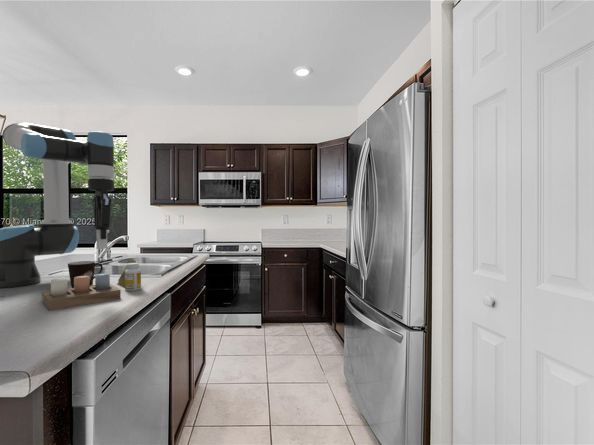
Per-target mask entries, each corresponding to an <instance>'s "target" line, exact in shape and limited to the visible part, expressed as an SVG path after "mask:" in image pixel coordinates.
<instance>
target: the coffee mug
mask: <svg viewBox="0 0 594 445" xmlns="http://www.w3.org/2000/svg"><path fill="white" fill-rule="evenodd" d="M96 266H100V269H99V271H98V273H97V274H102V271H103V268H104V267H103V265H102V264H101V263H96V261H95V260H81V261H78V260H77V261H72V262H68V263H67V268H68V275H69V281H70V288H74V277H78V276H89V286H90V285H94V279H95V270H96V269H95V268H96Z"/></svg>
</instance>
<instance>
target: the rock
mask: <svg viewBox="0 0 594 445" xmlns="http://www.w3.org/2000/svg"><path fill="white" fill-rule="evenodd" d="M128 263H138V262H137V261H136V260H134V259H129V262H128ZM127 269H128V268H127V265H126V266H125V268H124V269H123V270H122V273H121V275H119V278H118V280H117V281H118V282H117V285H119V286H121V287H125V270H127Z"/></svg>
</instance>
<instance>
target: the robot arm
mask: <svg viewBox="0 0 594 445" xmlns="http://www.w3.org/2000/svg"><path fill="white" fill-rule="evenodd" d="M2 139H3V141H4V143H5V144H6V145H8V147H10V148H12V149H14V150H17V151H21V153H22V155H23V156H24V157H27V158H32V159H37V160H40V161H41V162H42V167H43V168H42V172H43V177H42V178H43V218H44V219H43V220H42V221H40V222H39V227H35V225H34V224H20V225H13V226H11V225H10V226H5V227H2V228H0V288H3V289H4V288H5V289H6V288H16V287H24V286H30V285H34V284H38V283H40V282H41V279H42V278H41V275H40V272H39V270H38V268H37V265H36V261H35V260H36V259H35V258H36V257H39V256H49V255H64V254H71V253H72V252H74V251H75V250H76V249H77V247H78V244H79V240H80V233H79V228H78V227H77V226H74V222H73V221H72V220H71V219H70V215H69V214H70V212H69V210H70V208H69V201H70V199H69V196H70V195H69V164H70V163H77V164H79V165H82V166H87V177H88V178H89V179H87V185H88V186H87V189H88V191H93V192H94V191H95V192H94V196H93V199H92V208H93V221H94V224H93V226H94V227H95V230H96V249H97V250H106V249H108V228H109V229H110V227H111V226H110V221H111V220H110V219H111V205H112V198H110V196H109V192H112V191H113V192H114V191H115V181H114V177H115V175H114V174H115V173H116V170H115V168H114V167H115V166H114V165H115V163H114V161H115V160H114V158H115V155H114V154H115V143H114V137H113V135H112V134H111V133H109V132H104V131H99V130H98V131H96V130H95V131H94V130H92V131H89V132H88V133H87V139H86V141H82V140H81V141H80V140H77V139H76V136H75V134H74V133H73V132H72V131H71V130H68V129H64V128H60V127H56V126H55V127H54V126H47V125H41V124H36V123H30V122H17V123H15V122H14V123H12V124H8V125H7V126H5V128H4V129H3V130H2Z"/></svg>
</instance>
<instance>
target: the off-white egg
mask: <svg viewBox="0 0 594 445" xmlns="http://www.w3.org/2000/svg"><path fill="white" fill-rule="evenodd" d="M68 288H69V287H68V278H66V277H65V278H54V279H50V291H51V296H52V297H56V296H63V295H68Z"/></svg>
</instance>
